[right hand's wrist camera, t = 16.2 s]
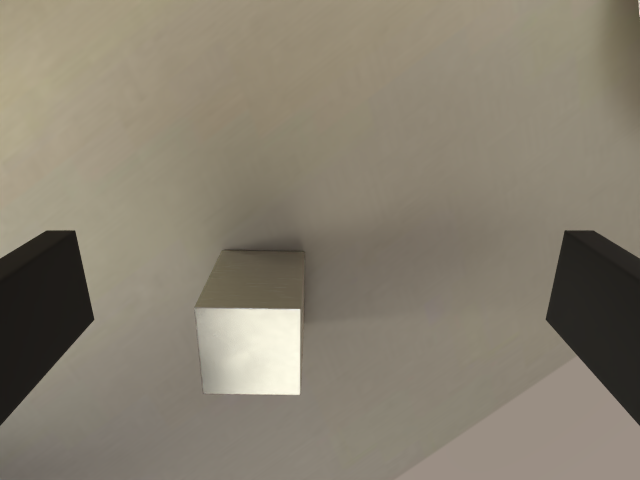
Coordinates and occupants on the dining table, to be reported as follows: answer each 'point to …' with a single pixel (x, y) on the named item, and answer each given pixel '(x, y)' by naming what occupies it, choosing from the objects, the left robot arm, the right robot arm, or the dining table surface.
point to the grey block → (252, 323)
